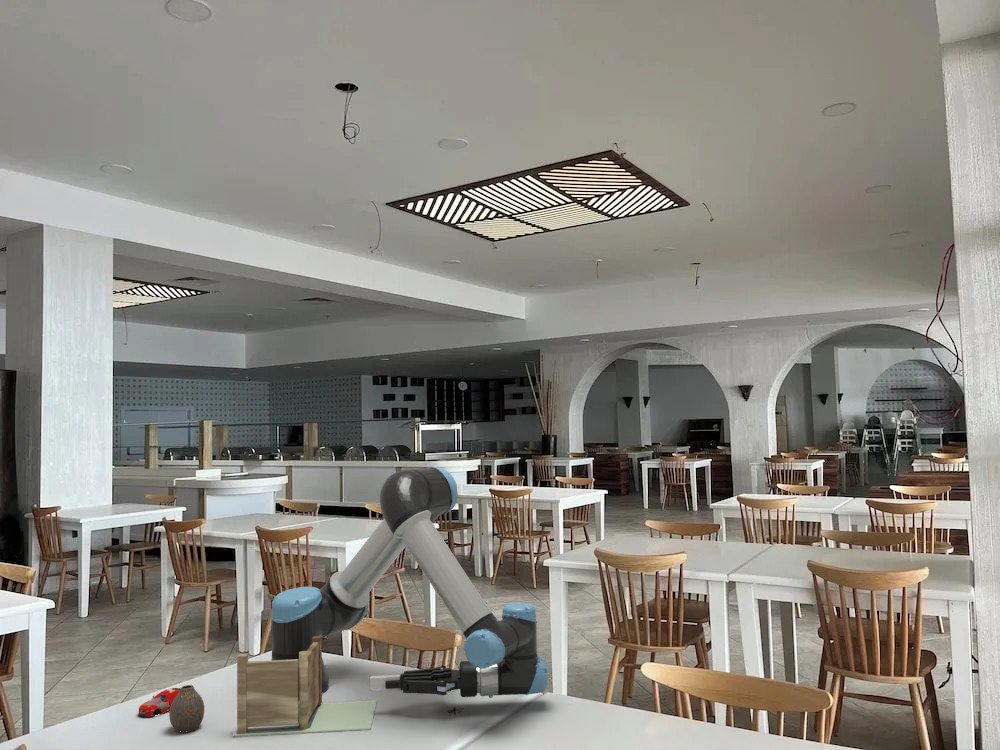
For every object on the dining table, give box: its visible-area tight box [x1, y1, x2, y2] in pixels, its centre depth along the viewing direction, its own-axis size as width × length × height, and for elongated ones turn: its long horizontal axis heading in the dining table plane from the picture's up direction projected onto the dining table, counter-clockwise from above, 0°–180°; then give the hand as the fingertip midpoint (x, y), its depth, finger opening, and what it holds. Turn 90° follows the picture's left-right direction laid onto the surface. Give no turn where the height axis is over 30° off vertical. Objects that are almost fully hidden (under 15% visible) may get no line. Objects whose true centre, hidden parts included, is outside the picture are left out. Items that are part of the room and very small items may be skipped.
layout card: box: [232, 699, 378, 738], centre depth 170 cm, size 17×28×1 cm, turn 95°
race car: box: [138, 687, 181, 718], centre depth 179 cm, size 13×5×4 cm, turn 148°
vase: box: [168, 684, 205, 733], centre depth 166 cm, size 7×7×9 cm
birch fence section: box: [236, 651, 308, 733], centre depth 164 cm, size 2×14×16 cm, turn 94°
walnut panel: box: [307, 636, 323, 720], centre depth 172 cm, size 13×2×15 cm, turn 1°
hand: (370, 683), depth 172 cm, fingers closed
